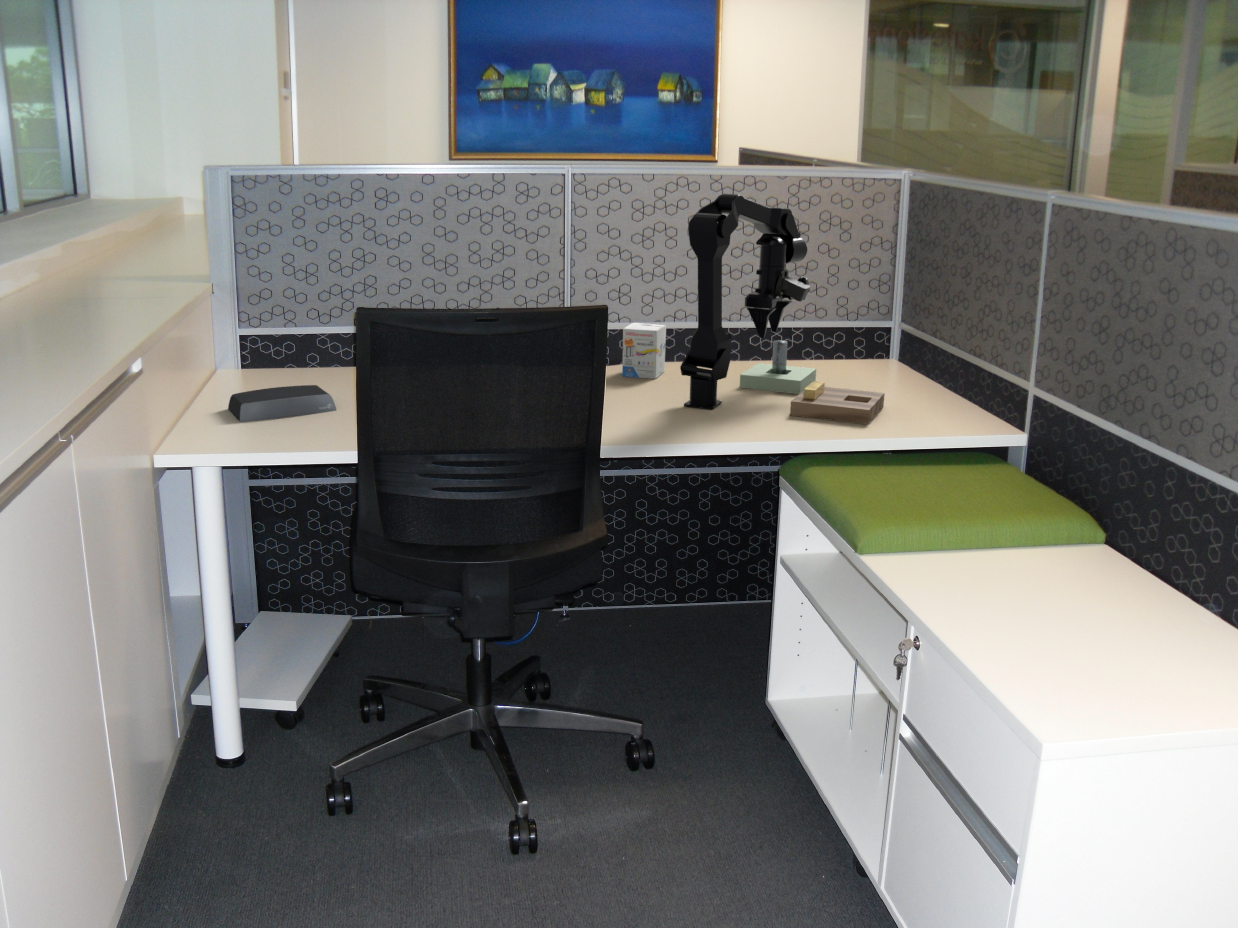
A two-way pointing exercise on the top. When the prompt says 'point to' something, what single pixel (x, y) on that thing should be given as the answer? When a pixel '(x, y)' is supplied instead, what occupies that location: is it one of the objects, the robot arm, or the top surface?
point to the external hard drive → (280, 403)
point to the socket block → (840, 405)
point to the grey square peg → (779, 357)
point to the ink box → (644, 350)
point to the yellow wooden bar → (813, 390)
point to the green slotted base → (777, 378)
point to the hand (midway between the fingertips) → (768, 334)
